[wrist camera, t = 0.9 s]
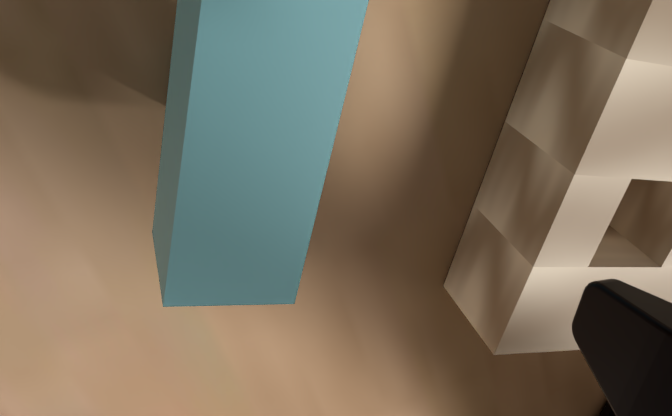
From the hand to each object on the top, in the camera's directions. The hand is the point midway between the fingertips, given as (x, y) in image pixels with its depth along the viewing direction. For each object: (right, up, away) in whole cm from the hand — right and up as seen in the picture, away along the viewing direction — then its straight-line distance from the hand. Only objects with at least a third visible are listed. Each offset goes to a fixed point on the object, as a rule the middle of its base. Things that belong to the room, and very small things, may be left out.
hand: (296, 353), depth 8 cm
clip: (-2, +9, +8) cm, 12 cm away
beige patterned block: (+11, +6, +15) cm, 19 cm away
